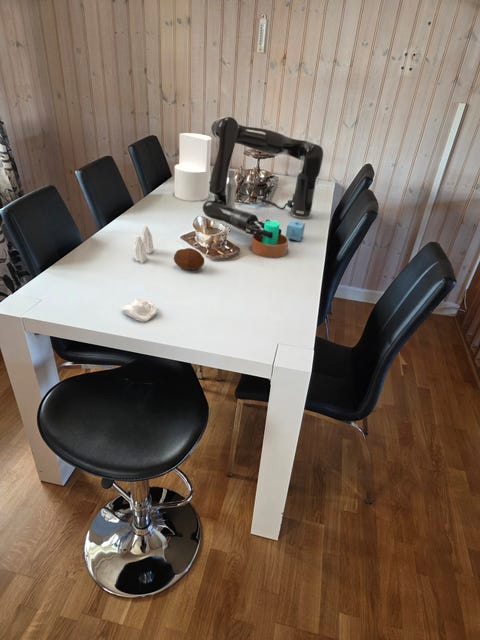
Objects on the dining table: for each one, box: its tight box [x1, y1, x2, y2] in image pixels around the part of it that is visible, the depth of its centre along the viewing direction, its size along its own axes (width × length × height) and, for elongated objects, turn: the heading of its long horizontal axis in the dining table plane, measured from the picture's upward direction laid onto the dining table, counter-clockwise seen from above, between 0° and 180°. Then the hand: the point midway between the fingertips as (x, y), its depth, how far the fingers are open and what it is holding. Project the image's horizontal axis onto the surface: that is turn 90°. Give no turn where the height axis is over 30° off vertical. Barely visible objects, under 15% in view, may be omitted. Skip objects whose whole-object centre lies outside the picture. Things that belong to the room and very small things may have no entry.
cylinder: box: [174, 132, 212, 202], centre depth 214 cm, size 17×17×28 cm
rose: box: [121, 298, 158, 323], centre depth 126 cm, size 10×4×10 cm
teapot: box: [285, 219, 306, 243], centre depth 182 cm, size 12×6×8 cm, turn 161°
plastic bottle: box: [226, 170, 238, 208], centre depth 196 cm, size 6×7×20 cm
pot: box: [250, 233, 290, 259], centre depth 172 cm, size 14×14×5 cm
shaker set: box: [133, 224, 154, 264], centre depth 156 cm, size 12×4×11 cm, turn 168°
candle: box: [262, 219, 281, 245], centre depth 169 cm, size 6×6×12 cm
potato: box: [173, 247, 205, 271], centre depth 152 cm, size 8×11×8 cm
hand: (276, 234), depth 168 cm, fingers closed on candle, 4 cm apart
